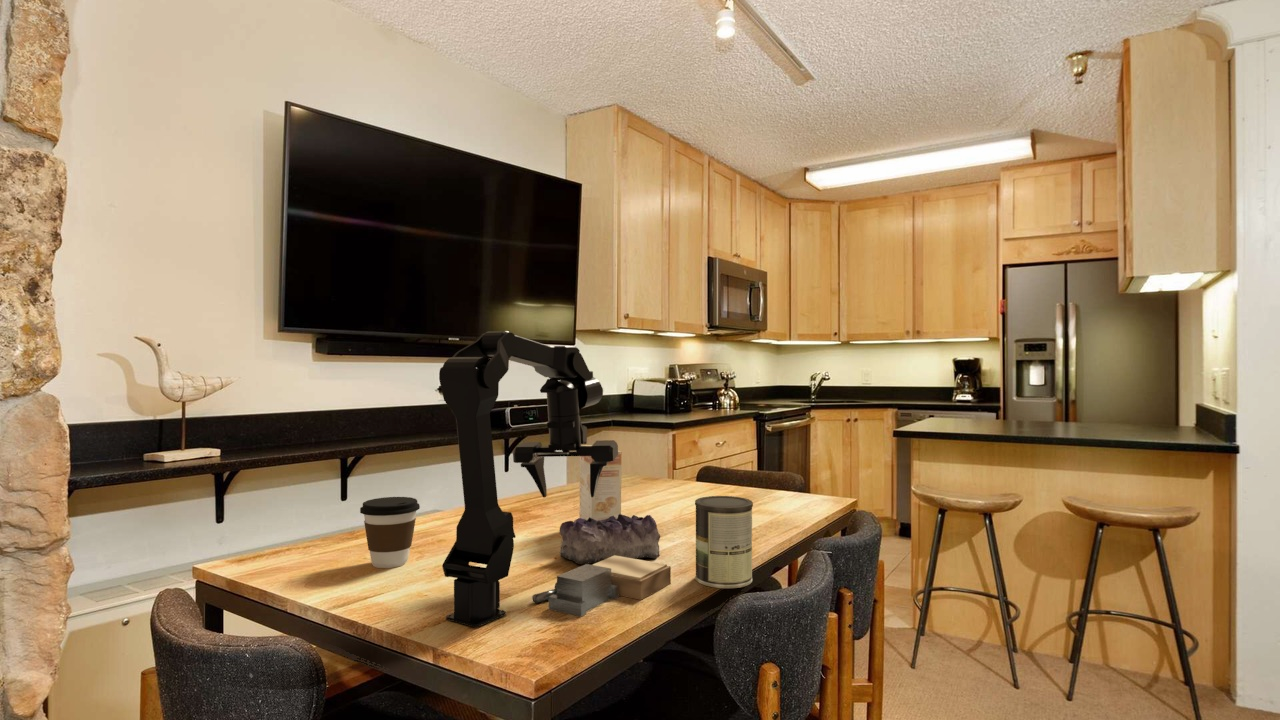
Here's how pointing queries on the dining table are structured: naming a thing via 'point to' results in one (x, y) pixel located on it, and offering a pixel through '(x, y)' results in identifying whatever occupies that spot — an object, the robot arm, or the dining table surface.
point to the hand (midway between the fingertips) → (568, 496)
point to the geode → (609, 538)
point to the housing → (583, 590)
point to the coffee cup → (389, 529)
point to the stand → (637, 576)
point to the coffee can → (723, 541)
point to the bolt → (544, 595)
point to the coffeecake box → (600, 490)
